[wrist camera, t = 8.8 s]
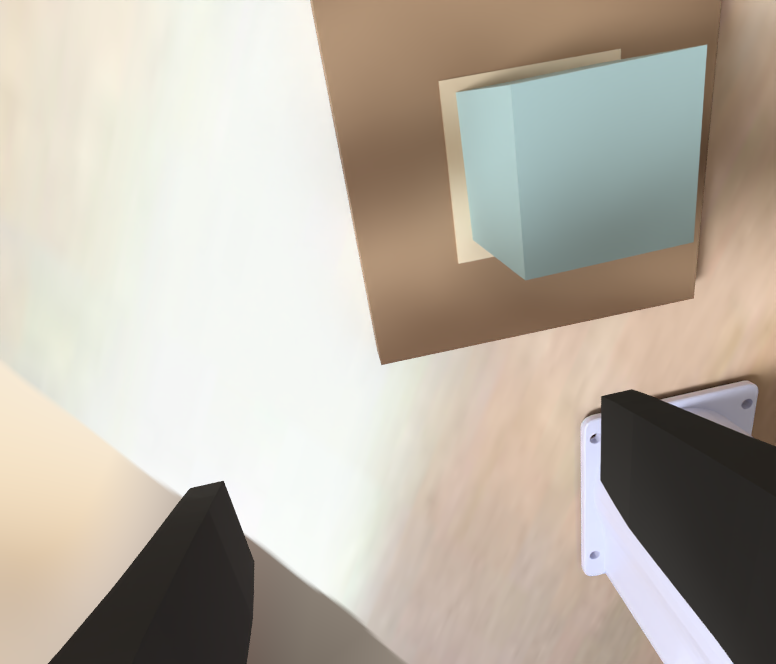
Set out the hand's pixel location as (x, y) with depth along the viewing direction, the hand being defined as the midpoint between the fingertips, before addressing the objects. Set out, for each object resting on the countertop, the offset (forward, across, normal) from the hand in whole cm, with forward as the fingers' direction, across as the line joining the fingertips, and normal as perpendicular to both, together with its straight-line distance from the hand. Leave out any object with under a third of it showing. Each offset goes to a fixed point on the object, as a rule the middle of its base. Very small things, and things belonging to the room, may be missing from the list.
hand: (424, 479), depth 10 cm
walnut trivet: (+10, -6, -4) cm, 12 cm away
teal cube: (+9, -6, -4) cm, 11 cm away
